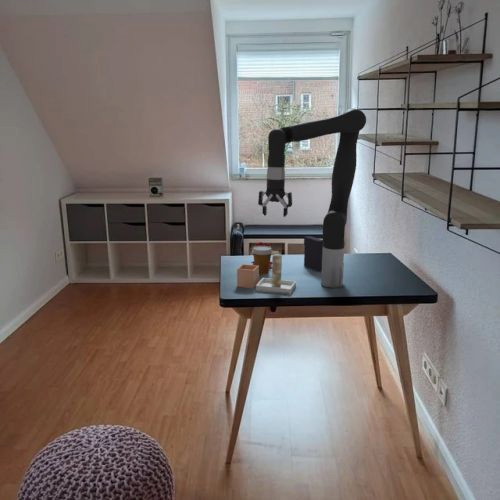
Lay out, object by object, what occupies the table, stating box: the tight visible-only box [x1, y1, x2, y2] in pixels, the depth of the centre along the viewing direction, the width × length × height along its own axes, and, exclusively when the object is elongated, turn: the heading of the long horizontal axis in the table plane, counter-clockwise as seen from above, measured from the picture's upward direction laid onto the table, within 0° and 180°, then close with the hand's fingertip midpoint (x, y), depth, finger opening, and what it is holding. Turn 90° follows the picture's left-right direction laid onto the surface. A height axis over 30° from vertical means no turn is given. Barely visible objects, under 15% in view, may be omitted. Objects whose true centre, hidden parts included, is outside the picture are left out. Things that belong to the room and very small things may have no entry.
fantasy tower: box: [251, 241, 272, 270], centre depth 248 cm, size 12×12×12 cm
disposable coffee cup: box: [251, 245, 273, 275], centre depth 237 cm, size 10×10×12 cm
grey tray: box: [255, 277, 297, 296], centre depth 217 cm, size 15×11×2 cm
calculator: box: [303, 235, 323, 272], centre depth 245 cm, size 11×4×15 cm, turn 34°
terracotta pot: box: [236, 263, 260, 289], centre depth 221 cm, size 8×8×8 cm
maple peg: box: [271, 253, 283, 288], centre depth 215 cm, size 4×4×14 cm
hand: (274, 215), depth 215 cm, fingers open, 8 cm apart
